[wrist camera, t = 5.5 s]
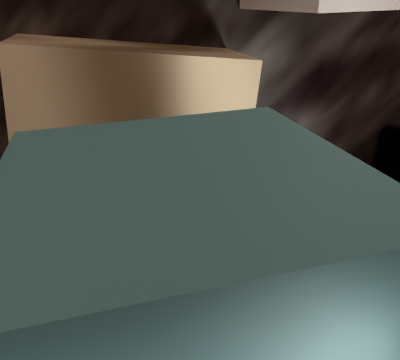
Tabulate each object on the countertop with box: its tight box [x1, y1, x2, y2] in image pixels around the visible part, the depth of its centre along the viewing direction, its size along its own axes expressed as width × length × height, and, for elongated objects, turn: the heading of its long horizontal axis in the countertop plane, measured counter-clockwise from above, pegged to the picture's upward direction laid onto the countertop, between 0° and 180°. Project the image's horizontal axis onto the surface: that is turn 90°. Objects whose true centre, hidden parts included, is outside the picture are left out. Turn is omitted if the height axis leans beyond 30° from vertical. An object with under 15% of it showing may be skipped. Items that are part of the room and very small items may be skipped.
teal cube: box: [0, 107, 400, 360], centre depth 8 cm, size 6×6×6 cm
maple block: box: [0, 33, 263, 142], centre depth 15 cm, size 8×8×4 cm
